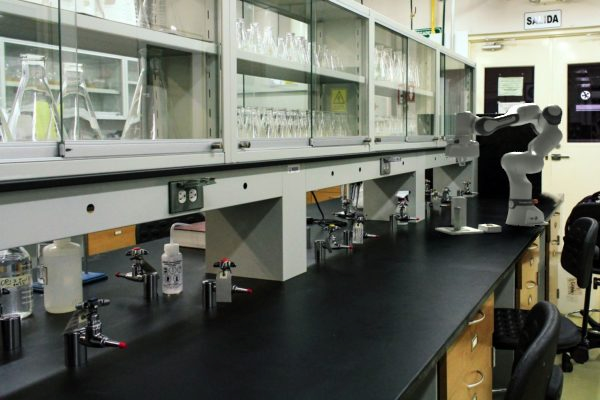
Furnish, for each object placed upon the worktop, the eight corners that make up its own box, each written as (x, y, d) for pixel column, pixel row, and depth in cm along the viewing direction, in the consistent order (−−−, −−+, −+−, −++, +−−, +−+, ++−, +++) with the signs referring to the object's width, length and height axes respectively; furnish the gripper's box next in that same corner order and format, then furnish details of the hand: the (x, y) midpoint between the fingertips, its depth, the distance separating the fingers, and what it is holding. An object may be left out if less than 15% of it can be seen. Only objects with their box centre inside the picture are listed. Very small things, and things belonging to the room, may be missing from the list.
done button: (490, 228, 314) (490, 224, 313) (494, 229, 311) (494, 224, 310) (485, 229, 313) (485, 224, 312) (488, 230, 310) (488, 225, 309)
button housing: (491, 229, 317) (491, 223, 316) (501, 232, 309) (501, 226, 309) (478, 230, 314) (478, 224, 314) (487, 232, 307) (487, 226, 306)
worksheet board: (465, 228, 321) (466, 226, 321) (483, 233, 306) (484, 230, 306) (435, 229, 316) (435, 227, 316) (452, 234, 301) (452, 232, 301)
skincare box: (466, 227, 326) (467, 197, 324) (453, 226, 326) (454, 197, 324) (462, 224, 334) (463, 196, 333) (450, 224, 334) (451, 196, 333)
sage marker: (458, 228, 313) (457, 207, 312) (462, 229, 310) (462, 207, 309) (453, 229, 311) (452, 207, 311) (457, 229, 308) (456, 207, 308)
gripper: (475, 140, 349) (474, 165, 350) (443, 140, 342) (442, 165, 344) (482, 140, 343) (481, 165, 344) (449, 140, 336) (449, 166, 338)
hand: (461, 165), depth 344 cm, fingers closed
